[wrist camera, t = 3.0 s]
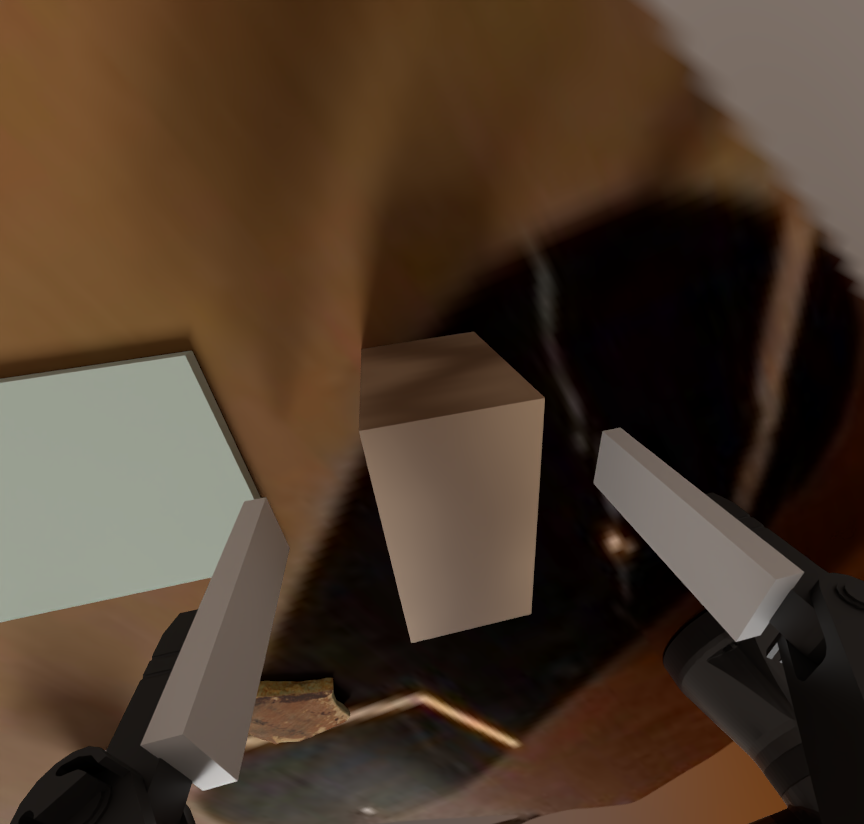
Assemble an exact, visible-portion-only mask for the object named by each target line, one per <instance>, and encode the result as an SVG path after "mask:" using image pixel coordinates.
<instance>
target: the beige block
mask: <svg viewBox="0 0 864 824" xmlns="http://www.w3.org/2000/svg"><path fill="white" fill-rule="evenodd" d="M544 404H545V398H544V397H543V396H542V395H541V394H540V393H539V392H538V391H537V390H536V389H535V388H534V387H533V386H531V385H530V384H529V383H528V382H527V381H526V380H525V379H524V378H523V377H522V376H521V375H520V374H519V373H518V372H516V371H515V370H514V369H513V368H512V367H511V366H510V365H509V364H508V363H507V362H506V361H505V360H504V359H503V358H502V357H500V356H499V355H498V354H497V353H496V352H495V351H494V350H493V349H492V348H491V347H490V346H489V345H488V344H487V343H485V342H484V341H483V340H482V339H481V338H480V337H479V336H478V335H477V334H476V333H475V332H468V333H461V334H455V335H449V336H442V337H436V338H429V339H423V340H416V341H410V342H403V343H397V344H390V345H384V346H377V347H371V348H365V349H361V382H360V414H359V433H360V437H361V441H362V445H363V449H364V453H365V458H366V462H367V466H368V470H369V474H370V478H371V482H372V486H373V490H374V494H375V498H376V502H377V506H378V510H379V514H380V518H381V522H382V526H383V530H384V534H385V539H386V543H387V547H388V551H389V555H390V559H391V563H392V567H393V571H394V575H395V579H396V583H397V587H398V591H399V595H400V599H401V603H402V607H403V611H404V615H405V620H406V624H407V628H408V632H409V636H410V640H411V643H414V642H418V641H422V640H426V639H430V638H434V637H439V636H443V635H447V634H451V633H455V632H459V631H463V630H467V629H471V628H475V627H479V626H484V625H488V624H492V623H496V622H500V621H504V620H508V619H512V618H516V617H520V616H525V615H529V614H531V608H532V592H533V576H534V561H535V545H536V529H537V513H538V498H539V482H540V466H541V451H542V435H543V419H544Z"/></svg>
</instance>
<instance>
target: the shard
mask: <svg viewBox="0 0 864 824" xmlns="http://www.w3.org/2000/svg"><path fill="white" fill-rule="evenodd" d="M349 717H350V711H349V710H348V708H346V707H345V706H344V705H343V704H342V703H341V702H339V701H337V700H336V698H335V695H334V692H333V678H323V679H319V680H309V681H304V682H292V681H280V682H278V681H260V683H259V687H258V692H257V696H256V701H255V705H254V710H253V714H252V719H251V723H250V727H249V732H248V734H250V735H252V736H254V737H257V738H260V739H262V740H267V741H269V742H272V743H274V744H278V743H279V742H295V741H302V740H304V739H307V738H310V737H312V736H314V735H315V734H319V733H321V732H323V731H325V730H327V729H330V728H332V727H334V726H337V725H339V724H341V723H343V722H345V721H347V719H348V718H349Z"/></svg>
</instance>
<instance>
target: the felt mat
mask: <svg viewBox="0 0 864 824" xmlns="http://www.w3.org/2000/svg"><path fill="white" fill-rule="evenodd" d="M260 498H261V497H260V495H259V493H258V491H257V489H256V487H255V484H254V482H253V480H252V478H251V476H250V474H249V472H248V469H247V467H246V465H245V463H244V461H243V459H242V457H241V454H240V452H239V450H238V448H237V446H236V444H235V442H234V439H233V437H232V435H231V433H230V431H229V429H228V427H227V424H226V422H225V420H224V418H223V416H222V414H221V411H220V409H219V407H218V405H217V403H216V401H215V399H214V396H213V394H212V392H211V390H210V388H209V386H208V384H207V381H206V379H205V377H204V375H203V373H202V371H201V369H200V366H199V364H198V362H197V360H196V358H195V356H194V354H193V351H185V352H179V353H172V354H165V355H158V356H151V357H145V358H138V359H131V360H124V361H118V362H111V363H104V364H97V365H91V366H84V367H77V368H70V369H64V370H57V371H50V372H43V373H36V374H30V375H23V376H16V377H9V378H3V379H0V622H4V621H9V620H13V619H18V618H23V617H27V616H32V615H37V614H42V613H46V612H51V611H56V610H60V609H65V608H70V607H74V606H79V605H84V604H88V603H93V602H98V601H103V600H107V599H112V598H117V597H121V596H126V595H131V594H135V593H140V592H145V591H150V590H154V589H159V588H164V587H168V586H173V585H178V584H182V583H187V582H192V581H197V580H201V579H206V578H211V577H212V576H213V573H214V571H215V569H216V566H217V564H218V562H219V559H220V557H221V555H222V552H223V550H224V547H225V545H226V543H227V540H228V538H229V536H230V533H231V531H232V529H233V526H234V524H235V522H236V519H237V517H238V515H239V512H240V510H241V508H242V505H243V503H244V501H249V500H254V499H260Z"/></svg>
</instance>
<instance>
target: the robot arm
mask: <svg viewBox="0 0 864 824" xmlns="http://www.w3.org/2000/svg"><path fill="white" fill-rule="evenodd" d="M594 484H595V486H596V487H597V488H598V489H599V490H600V491H601V492H602V493H603V494H604V496H605V497H606V498H607V499H608V500H609V501H610V502H611V503H612V504H613V506H614V507H615V508H616V509H617V510H618V511H619V512H620V513H621V514H622V516H623V517H624V518H625V519H626V520H627V521H628V522H629V523H630V525H631V526H632V527H633V528H634V529H635V530H636V531H637V532H638V533H639V535H640V536H641V537H642V538H643V539H644V540H645V541H646V542H647V543H648V545H649V546H650V547H651V548H652V549H653V550H654V551H655V552H656V553H657V555H658V556H659V557H660V558H661V559H662V560H663V561H664V562H665V564H666V565H667V566H668V567H669V568H670V569H671V570H672V571H673V572H674V574H675V575H676V576H677V577H678V578H679V579H680V580H681V581H682V582H683V584H684V585H685V586H686V587H687V588H688V589H689V590H690V591H691V592H692V594H693V595H694V596H695V597H696V598H697V599H698V600H699V601H700V603H701V604H702V605H703V606H704V607H705V608H706V609H707V610H708V611H707V612H706V613H704V614H703V615H701V616H700V617H698V618H697V619H696V620H694V621H693V622H692V623H690V624H689V625H688V626H687V627H686V628H684V629H683V630H682V631H681V632H680V633H679V634H678V635H677V636H676V637H675V639H674V640H673V641H672V642H671V644H670V645H669V647H668V648H667V650H666V652H665V655H664V659H663V663H664V667H665V668H666V670H667V671H668V673H669V674H670V676H671V677H672V678H673V680H674V681H675V683H676V684H677V686H678V687H679V689H680V690H681V691H682V692H683V693H684V694H685V695H686V696H687V697H688V698H689V699H690V700H691V701H692V702H693V703H694V704H695V705H696V706H697V707H699V708H700V709H701V710H702V711H703V712H704V713H705V714H706V715H707V716H708V717H709V718H710V719H711V720H712V721H713V722H714V723H715V724H716V725H718V726H719V727H720V728H721V729H722V730H723V731H724V732H725V733H726V734H727V735H728V736H729V737H730V738H731V739H732V740H733V741H735V742H736V743H737V744H738V745H739V746H740V747H741V748H742V749H743V750H744V751H745V752H746V753H747V754H748V755H749V756H750V757H751V758H752V759H753V760H754V761H755V762H756V764H757V765H758V766H759V768H760V769H761V770H762V772H763V773H764V774H765V776H766V777H767V779H768V780H769V781H770V783H771V784H772V785H773V787H774V788H775V789H776V791H777V792H778V793H779V795H780V796H781V797H782V799H783V801H784V802H785V803H786V805H787V806H788V808H787V809H785V810H782V811H780V812H778V813H775V814H773V815H770V816H767V817H764V818H762V819H759V820H757V821H754V822H752V823H749V824H864V581H862V580H859V579H857V578H854V577H851V576H848V575H844V574H838V573H828V572H826V571H825V570H823V569H822V568H820V567H819V566H818V565H816V564H815V563H814V562H812V561H811V560H810V559H808V558H807V557H806V556H804V555H803V554H802V553H800V552H799V551H798V550H796V549H795V548H794V547H792V546H791V545H789V544H788V543H787V542H785V541H784V540H783V539H781V538H780V537H779V536H777V535H776V534H775V533H773V532H772V531H771V530H769V529H768V528H765V527H764V525H763V524H761V523H760V522H759V521H757V520H756V519H755V518H753V517H752V518H751V517H750V515H749V514H748V513H747V512H745V511H744V510H743V509H741V508H740V507H739V506H737V505H736V504H735V503H733V502H731V501H729V500H727V499H725V498H723V497H721V496H719V495H717V494H715V493H708V494H704V493H703V492H702V491H700V490H699V489H698V488H696V487H695V486H694V485H693V484H691V483H690V482H689V481H687V480H686V479H685V478H684V477H682V476H681V475H680V474H679V473H677V472H676V471H675V470H673V469H672V468H671V467H670V466H668V465H667V464H666V463H665V462H663V461H662V460H661V459H659V458H658V457H657V456H656V455H654V454H653V453H652V452H651V451H649V450H648V449H647V448H645V447H644V446H643V445H642V444H640V443H639V442H638V441H636V440H635V439H634V438H633V437H631V436H630V435H629V434H628V433H626V432H625V431H624V430H622V429H621V428H616V429H611V430H606V431H603V432H602V438H601V443H600V449H599V455H598V461H597V466H596V472H595V478H594ZM289 549H290V548H289V546H288V543H287V541H286V539H285V537H284V535H283V533H282V531H281V528H280V526H279V524H278V522H277V520H276V518H275V515H274V513H273V511H272V509H271V507H270V505H269V502H268V500H267V498H266V497H265V498H260V499H254V500H249V501H244V503H243V505H242V508H241V510H240V512H239V515H238V517H237V519H236V522H235V524H234V526H233V529H232V531H231V533H230V536H229V538H228V540H227V543H226V545H225V547H224V550H223V552H222V555H221V557H220V559H219V562H218V564H217V566H216V569H215V571H214V573H213V576H212V578H211V580H210V583H209V585H208V587H207V590H206V592H205V594H204V597H203V599H202V601H201V604H200V606H199V609H197V610H193V611H188V612H184V613H180V614H179V615H178V616H177V618H176V619H175V620H174V621H173V622H172V624H171V625H170V626H169V627H168V629H167V630H166V631H165V632H164V633H163V635H162V637H161V639H160V641H159V643H158V645H157V647H156V649H155V652H154V654H153V656H152V661H150V662H149V664H148V666H147V668H146V670H145V672H144V674H143V679H142V680H140V682H139V684H138V686H137V689H136V691H135V693H134V695H133V697H132V699H131V701H130V703H129V705H128V707H127V709H126V711H125V713H124V715H123V717H122V719H121V721H120V723H119V726H118V728H117V730H116V732H115V734H114V736H113V738H112V740H111V742H110V744H109V746H108V748H107V750H106V751H105V750H103V749H102V748H99V747H91V746H88V747H85V748H83V749H80V750H77V751H75V752H72V753H71V754H70V755H68V756H67V757H65V758H64V759H62V760H61V761H59V762H58V763H56V764H55V765H54V766H53V767H52V768H51V769H50V770H49V771H48V772H47V773H46V774H45V775H44V776H43V777H41V778H40V779H39V780H38V781H37V782H36V784H35V785H34V786H33V788H32V789H31V790H30V792H29V793H28V794H27V796H26V797H25V798H24V799H23V801H22V802H21V803H20V805H19V807H18V809H17V811H16V813H15V815H14V817H13V819H12V821H11V823H10V824H195V821H194V818H193V816H192V813H191V810H190V808H189V807H188V806H187V805H186V801H187V797H188V794H189V791H190V788H191V784H192V783H193V784H194V785H196V786H197V787H199V788H200V789H201V790H203V791H204V790H207V789H211V788H214V787H218V786H222V785H225V784H229V783H232V782H236V781H238V777H239V772H240V768H241V763H242V759H243V754H244V750H245V745H246V741H247V736H248V732H249V727H250V723H251V719H252V714H253V710H254V705H255V701H256V696H257V692H258V687H259V683H260V678H261V674H262V669H263V665H264V660H265V656H266V651H267V647H268V643H269V638H270V634H271V629H272V625H273V620H274V616H275V611H276V607H277V602H278V598H279V593H280V589H281V584H282V580H283V575H284V571H285V567H286V562H287V558H288V553H289Z"/></svg>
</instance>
